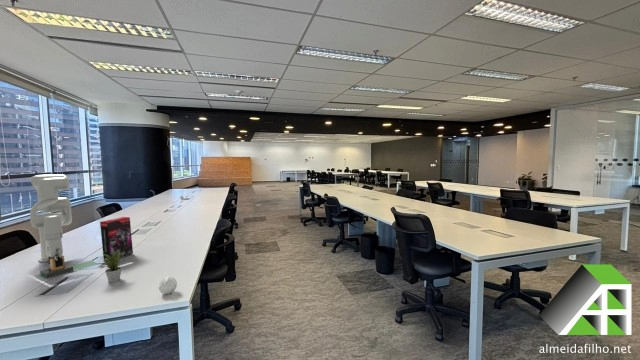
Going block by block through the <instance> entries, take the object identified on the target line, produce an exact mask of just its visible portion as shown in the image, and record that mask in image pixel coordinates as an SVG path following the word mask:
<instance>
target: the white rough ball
mask: <svg viewBox="0 0 640 360" xmlns="http://www.w3.org/2000/svg"><path fill="white" fill-rule="evenodd" d="M177 286H178V281H177V280H176V278H174V277H173V276H166V277H163V278H162V279H161V280H160V281H159V283H158V290H159V292H160V293H161V294H164V295H168V294H172V293H173V292H174V291H175V290H176V288H178V287H177Z"/></svg>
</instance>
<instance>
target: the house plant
mask: <svg viewBox="0 0 640 360" xmlns="http://www.w3.org/2000/svg"><path fill="white" fill-rule="evenodd" d="M118 251H119V250H118ZM118 251H117V252H116V253H115V252H114V253H113V257H112V258H111V257H110V256H109V255H107V254H104V255H105V256H106V257H107V259H105V260H104V258H103V257H102V260H103V262H101V263H99V264H97V265H98V266H100V265H101V266H100V267H99V269H100V270H102V269H103V268H105V267H106V268H107V267H108V268H107V269H105V274H106V277H107V281H108V283H114V282H115V283H116V282H118V281H121V280H120V279H121V274H122V267H121V266H120V264H121V263H122V261H121V262H120V260H121V259H122V258H123V257H119V255H120V253H119V254H118ZM117 254H118V257H117ZM121 254H122V253H121ZM120 256H121V255H120ZM116 257H117V258H116ZM124 261H126V259H125V260H123V262H124Z"/></svg>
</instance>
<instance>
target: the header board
mask: <svg viewBox="0 0 640 360" xmlns="http://www.w3.org/2000/svg"><path fill="white" fill-rule="evenodd" d="M97 265H100V264H99V263H98V262H97V261H96V262H95V261H93V260H87V261H84V262H79V263H76V264H72V265H69V264H66V263H65V267H64V268H62V269H58V270H54V271H51V269H50V268H46V269H42V270H39V271H40V272H39V273H38V274H35V276H36V277H38V278H40V279H42V280H47V279H49V278H54V277H57V276H61V275H65V274H69V273H72V272H76V271H78V270H81V269H85V268H90V267H93V266H97Z"/></svg>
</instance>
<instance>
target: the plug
mask: <svg viewBox="0 0 640 360" xmlns="http://www.w3.org/2000/svg"><path fill="white" fill-rule="evenodd" d="M55 260H56V259H55V257H54V258H50V265H49V267H50V269H51V271H54V270H58V269H62V268H64V267H65V264H66V263H65V255H64V256H63V266H60V267H55Z"/></svg>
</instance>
